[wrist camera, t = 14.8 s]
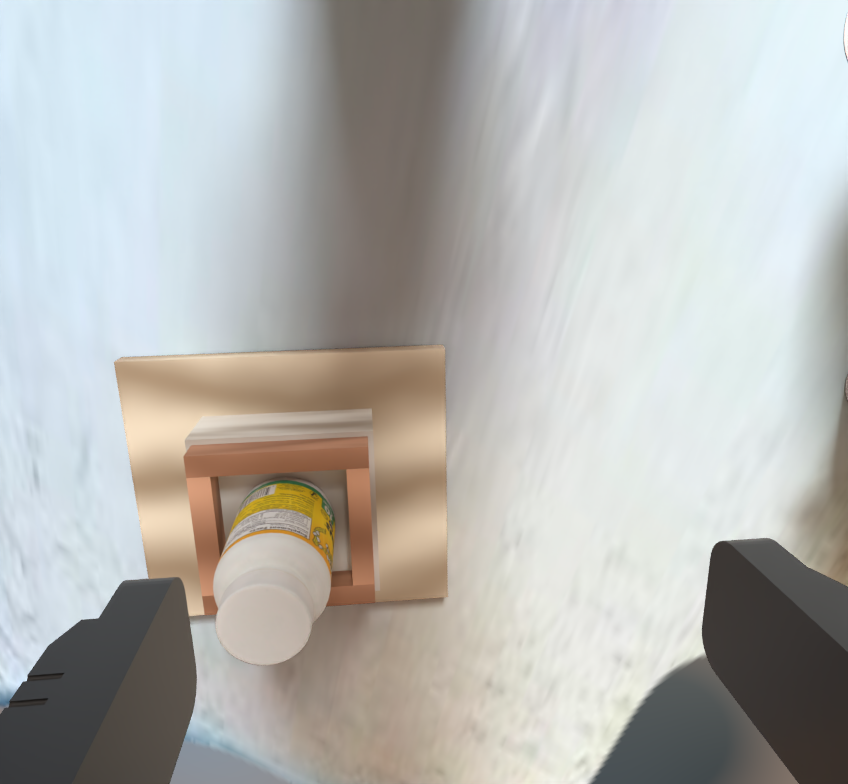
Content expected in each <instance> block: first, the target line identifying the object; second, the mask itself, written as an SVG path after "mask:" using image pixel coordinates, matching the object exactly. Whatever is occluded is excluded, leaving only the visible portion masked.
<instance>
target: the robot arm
mask: <svg viewBox="0 0 848 784" xmlns="http://www.w3.org/2000/svg"><path fill="white" fill-rule="evenodd" d="M702 638H703V645H704V649H705V653H706V656H707V658H708V661H709V663H710V665H711V667H712V669H713V670H714V672H715V673H716V675H717V676H718V677H719V679H720V680H721V681H722V683H723V684H724V685H725V687H726V688H727V689H728V691H729V692H730V693H731V694H732V696H733V697H734V698H735V700H736V701H737V702H738V704H739V705H740V706H741V708H742V709H743V710H744V712H745V713H746V714H747V716H748V717H749V718H750V720H751V721H752V722H753V724H754V725H755V726H756V728H757V729H758V730H759V732H760V733H761V734H762V735H763V737H764V738H765V739H766V741H767V742H768V743H769V745H770V746H771V747H772V749H773V750H774V751H775V753H776V754H777V755H778V757H779V758H780V759H781V761H782V762H783V763H784V765H785V766H786V767H787V768H788V770H789V771H790V773H791V774H792V775H793V776H794V777H795V779H796V780H797V782H798V783H799V784H848V587H847V586H845V585H843V584H841V583H839V582H837V581H835V580H833V579H831V578H829V577H827V576H825V575H823V574H821V573H819V572H817V571H815V570H813V569H811V568H808V567H806V566H805V565H804V564H803V563H802V562H800V561H799V560H798V559H797V558H795V557H794V556H793V555H792V554H790V553H789V552H788V551H787V550H786V549H784V548H783V547H782V546H781V545H779V544H778V543H777V542H775V541H774V540H772V539H769V538H760V539H745V540H731V541H720V542H718V543H717V544H716V545H715V546H714V548H713V550H712V553H711V558H710V566H709V574H708V582H707V590H706V599H705V607H704V615H703V624H702ZM196 683H197V675H196V663H195V656H194V649H193V642H192V635H191V628H190V621H189V614H188V607H187V600H186V593H185V588H184V584H183V582H182V580H181V579H180V578H179V577H169V578H154V579H139V580H126V581H123V582H122V583H121V584H120V586H119V587H118V589H117V590H116V592H115V593H114V595H113V596H112V598H111V600H110V601H109V603H108V604H107V606H106V608H105V609H104V611H103V612H102V614H101V616H100V617H99V619H86V620H81V621H79V622H78V623H77V624H76V625H74V626H73V627H72V628H71V629H69V630H68V631H67V632H65V633H64V634H63V635H62V636H60V637H59V638H58V639H56V640H55V641H54V642H53V643H51V644H50V645H49V646H48V647H47V649H46V650H45V651H44V653H43V654H42V656H41V657H40V659H39V660H38V661H37V663H36V664H35V666H34V667H33V668H32V670H31V671H30V673H29V674H28V679H27V681H26V682H23V683H22V684H21V686H20V687H19V688H18V690H17V691H16V693H15V694H14V696H13V697H12V698H11V700H10V701H9V702H10V704H9V708H4V710H3V711H2V713H1V714H0V784H169V783H170V781H171V777H172V774H173V771H174V768H175V765H176V762H177V759H178V756H179V753H180V750H181V747H182V744H183V741H184V738H185V735H186V732H187V729H188V726H189V723H190V720H191V716H192V713H193V709H194V703H195V696H196Z"/></svg>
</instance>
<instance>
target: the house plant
mask: <svg viewBox="0 0 848 784" xmlns="http://www.w3.org/2000/svg"><path fill="white" fill-rule="evenodd" d="M845 393H846V397H847V401H848V375H847V379H846V382H845Z"/></svg>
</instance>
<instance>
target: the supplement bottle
mask: <svg viewBox="0 0 848 784" xmlns="http://www.w3.org/2000/svg"><path fill="white" fill-rule="evenodd" d="M334 536H335V515H334V511H333V508H332V506H331V504H330V502H329V500H328V499H327V497H326V496H325V494H324V493H323V492H322V491H321V490H320V489H319V488H318V487H317V486H315V485H314V484H312V483H311V482H308V481H305V480H303V479H299V478H293V477H278V478H274V479H270V480H267V481H265V482H263V483H261V484H259V485H258V486H256V487H255V488H254V489H252V490H251V491H250V492H249V493H248V495H247V496H246V497H245V498H244V500H243V502H242V504H241V506H240V508H239V510H238V512H237V516H236V518H235V521H234V523H233V526H232V529H231V531H230V534H229V537H228V539H227V542H226V544H225V547H224V550H223V552H222V555H221V557H220V560H219V562H218V565H217V568H216V571H215V574H214V580H213V593H214V598H215V602H216V605H217V607H218V612H217V615H216V621H215V626H216V633H217V636H218V639H219V641H220V643H221V644H222V646H223V647H224V648H225V649H226V650H227V651H228V652H229V653H230V654H231V655H232V656H234V657H235V658H237V659H239V660H241V661H243V662H246V663H250V664H254V665H272V664H278V663H281V662H284V661H287V660H288V659H290V658H292V657H294V656H295V655H296V654H297V653H299V652H300V651H301V650H302V648H303V647H304V646H305V644H306V643H307V641H308V639H309V637H310V634H311V629H312V624H313V623H314V622H315V621H316V620H317V619H318V618H319V616H320V615H321V614H322V612H323V610H324V609H325V607H326V605H327V602H328V599H329V595H330V590H331V577H332V563H333V549H334Z"/></svg>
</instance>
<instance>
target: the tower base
mask: <svg viewBox="0 0 848 784" xmlns="http://www.w3.org/2000/svg"><path fill="white" fill-rule="evenodd" d="M114 365H115V371H116V377H117V383H118V390H119V396H120V402H121V408H122V415H123V421H124V427H125V433H126V440H127V446H128V452H129V458H130V465H131V471H132V477H133V483H134V490H135V496H136V502H137V508H138V515H139V521H140V527H141V533H142V540H143V546H144V552H145V558H146V565H147V571H148V577H149V579H154V578H169V577H179V578H180V579H181V580H182V582H183V584H184V588H185V593H186V600H187V607H188V614H189V616H196V615H215V614H217V612H218V607H217V605H216V602H215V598H214V593H213V580H214V574H215V571H216V568H217V565H218V562H219V560H220V557H221V555H222V552H223V550H224V547H225V544H226V542H227V539H228V537H229V534H230V531H231V529H232V526H233V523H234V521H235V518H236V516H237V512H238V510H239V508H240V506H241V504H242V502H243V500H244V498H245V497H246V496H247V495H248V493H249V492H250V491H251V490H252V489H254V488H255V487H256V486H258V485H259V484H261V483H263V482H265V481H267V480H270V479H274V478H278V477H293V478H299V479H303V480H305V481H308V482H311V483H312V484H314V485H315V486H317V487H318V488H319V489H320V490H321V491H322V492H323V493H324V494H325V496H326V497H327V499H328V500H329V502H330V504H331V506H332V508H333V511H334V515H335V536H334V549H333V563H332V577H331V590H330V595H329V599H328V602H327V605H326V606H337V605H351V604H365V603H375V602H386V601H400V600H414V599H427V598H441V597H448V591H447V493H446V396H445V348H444V346H443V345H421V346H396V347H370V348H345V349H319V350H294V351H269V352H243V353H218V354H192V355H167V356H142V357H121V358H120V359H118V360H117V361H115V362H114Z"/></svg>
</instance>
